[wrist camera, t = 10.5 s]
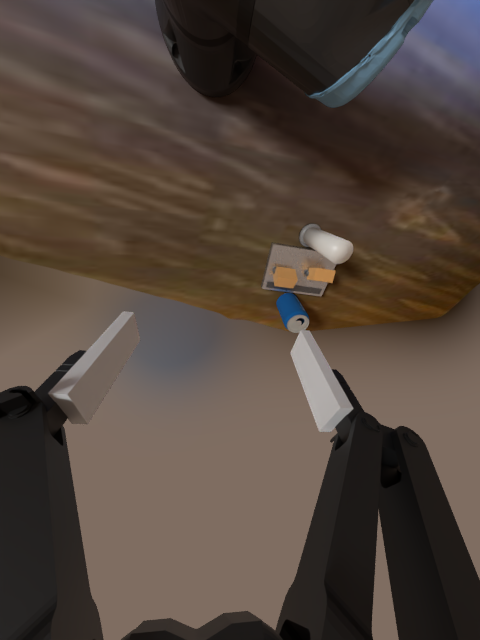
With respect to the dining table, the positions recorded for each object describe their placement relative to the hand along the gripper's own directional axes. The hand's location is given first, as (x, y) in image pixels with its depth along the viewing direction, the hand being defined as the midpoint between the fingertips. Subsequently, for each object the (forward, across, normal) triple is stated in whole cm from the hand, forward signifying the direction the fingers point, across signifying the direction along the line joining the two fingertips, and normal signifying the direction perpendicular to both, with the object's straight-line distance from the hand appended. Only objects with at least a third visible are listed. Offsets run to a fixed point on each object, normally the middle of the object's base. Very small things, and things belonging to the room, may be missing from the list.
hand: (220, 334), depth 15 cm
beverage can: (+37, +20, -15) cm, 45 cm away
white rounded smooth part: (+37, +20, +4) cm, 42 cm away
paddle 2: (+35, +24, -5) cm, 43 cm away
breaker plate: (+37, +20, -5) cm, 42 cm away
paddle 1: (+35, +16, -5) cm, 38 cm away
